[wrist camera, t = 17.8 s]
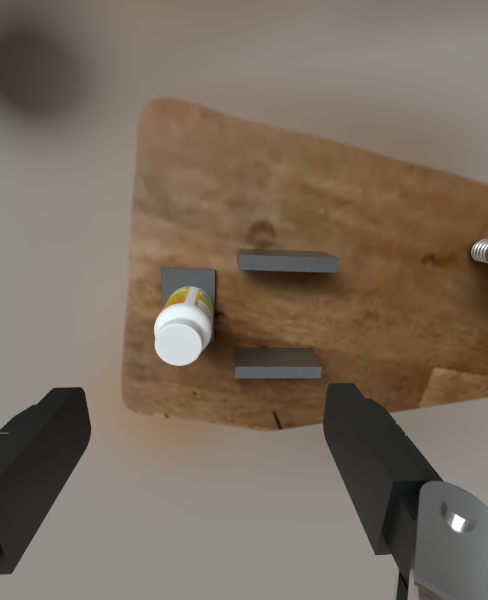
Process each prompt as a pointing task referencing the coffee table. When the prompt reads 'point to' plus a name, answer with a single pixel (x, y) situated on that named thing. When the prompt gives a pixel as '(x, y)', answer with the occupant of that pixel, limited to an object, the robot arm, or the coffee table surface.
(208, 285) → the gray rectangular block
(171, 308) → the supplement bottle
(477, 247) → the lightbulb
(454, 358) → the coffee table surface
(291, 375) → the grey bricks
